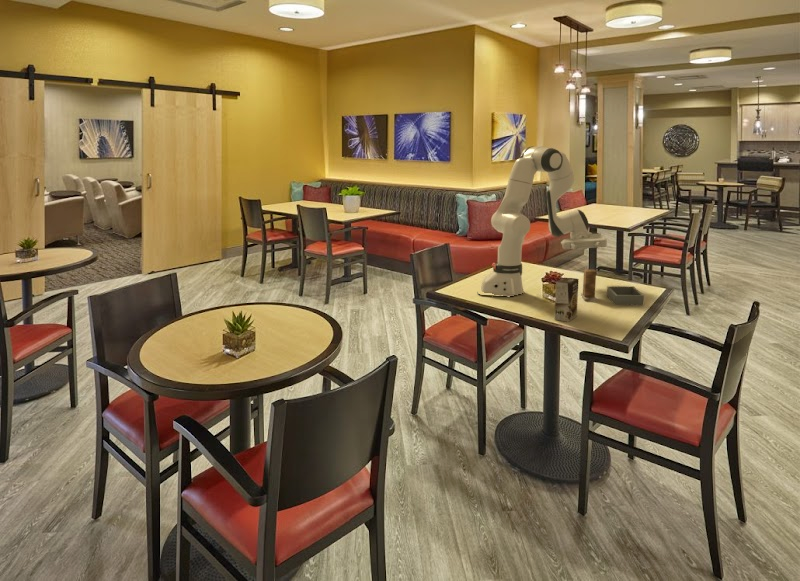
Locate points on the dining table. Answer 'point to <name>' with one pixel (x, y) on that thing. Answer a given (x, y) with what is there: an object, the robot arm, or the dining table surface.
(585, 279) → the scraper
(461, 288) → the dining table surface
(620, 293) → the tray
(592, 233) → the robot arm
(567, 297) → the coffee box
